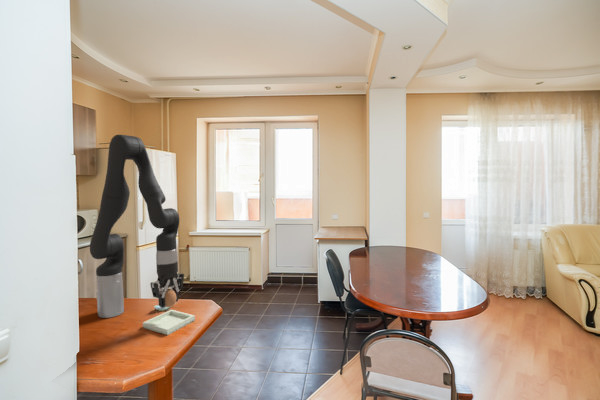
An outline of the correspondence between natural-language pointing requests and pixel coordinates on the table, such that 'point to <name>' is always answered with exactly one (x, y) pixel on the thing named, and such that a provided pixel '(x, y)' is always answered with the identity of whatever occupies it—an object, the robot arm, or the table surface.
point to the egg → (170, 298)
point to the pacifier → (161, 308)
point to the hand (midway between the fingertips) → (169, 303)
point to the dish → (168, 322)
